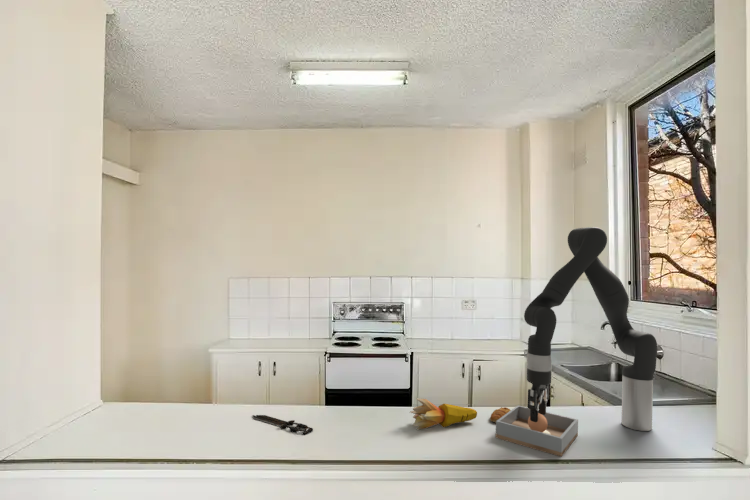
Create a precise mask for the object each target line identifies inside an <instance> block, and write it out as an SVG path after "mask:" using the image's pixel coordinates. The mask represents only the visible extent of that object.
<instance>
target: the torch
mask: <svg viewBox="0 0 750 500" xmlns="http://www.w3.org/2000/svg"><path fill="white" fill-rule="evenodd" d="M415 400H417V401H418V402H419V403H420V404H422V405H419V406H415V407H414V406H413V408H412V410H411V411H409V414H413V416H412V418H413V419H415V420H414V422H413V425H412V427H416V429H415V430H416V431H417V430H423V429H428V428H431V427H434V426H436V425H440V426H441V427H442V428H447V427H449V426H451V425H454V424H459V423H465V422H468V421H472V420H475V419H476V418H477V417H478V411H477V410H475V409H474V408H470V407H464V406H460V405H454V404H450V403H449V404H448V403H442V404H440V405H439V406H437V405H435V404H434V403H433V402H431V401H429V400H428V399H426V398H418V397H417V398H415Z"/></svg>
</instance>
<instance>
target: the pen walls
mask: <svg viewBox="0 0 750 500" xmlns="http://www.w3.org/2000/svg"><path fill="white" fill-rule="evenodd" d="M510 410H511V411H509V412H508V413H507V414H505V415H504V416H502V417H501V418H500V419H498V420H497V421H496V422H495V435H496V434H498V435H502V436H505V437H509V438H512V439H516V440H519V441H523V442H526V443H530V444H533V445H537V446H540V447H544V448H547V449H551V450H554V451H558V452H561V453H562V451H563V450H564V449H565V447H566V446H567V445H568V444H569V442H570V441H571V440H572V439H573V437H574V436H575V435H576V434H577V432H578V433H579V419H577V418H572V417H569V416H564V415H560V414H557V413H551V412H548V411H546V414H545V415H543V414H542V415H543V416H544V417H545V418H546V420H547V423H548V425H550V426H553V427H557V428H561V429H565V430H566V431H565V432H564V433H563V434H562V435H561V436H560V437H557V436H554V435H550V434H546V433H542V432H538V431H535V430H531V429H527V428H523V427H520V426H516V425H512V423H513V422H514V421H516V420H517V419H518V418H522V419H526V420H528V418H529V416H530V409H529V408H528V407H526V406H522V405H519V404H518V405H515V406H514V407H513V408H512V409H510ZM538 413H539V409H538Z"/></svg>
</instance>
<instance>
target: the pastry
mask: <svg viewBox="0 0 750 500" xmlns="http://www.w3.org/2000/svg"><path fill="white" fill-rule="evenodd" d="M511 410H512V409H510V408H509V407H505V406H504V407H502V406H501V407H499V408H498V409H495V410H493V412H492V413H491V414H490V416H489V417H490V418H489V419H490V420H489V421H490V422H493V423H496V421H497V420H498V419H500V418H501V417H502V416H504V415H505V414H507V413H508V412H509V411H511Z"/></svg>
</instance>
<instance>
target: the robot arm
mask: <svg viewBox="0 0 750 500" xmlns="http://www.w3.org/2000/svg"><path fill="white" fill-rule="evenodd" d="M607 242H608V236H607V234H606V231H604V229H602V228H600V227H596V226H592V227H591V226H590V227H589V226H588V227H578V228H574V229H571V231H569V232H568V236H567V245H568V248H569V249H570V251H571V253H572V255H573V257H572V258H571V259H570V260H569V261H568V262H566V264H564V265H562V267H561V268H560V269H558V271H556V272H555V273H554V274H553V275H552V277H550V279H549V280H548V282H547V284H546V286H544V289H543V290H542V292H541V293H539V294H538V295H537V296H536V298H534V299H532V301H531V302H530V303H529V304H528V305H527V307H526V308H525V311H524V313H523V318H524V321H525V324H527V325H529V326H532V327H534V328H536V330H535V334H530V335H529V337H528V340H527V355H526V357H527V358H526V381H527V382H528V383H529V384H531V385H532V386H531V387H530V388H528V390H527V408H529V409H530V420H531V421H533V422H537V421H538V410H539V413H540V414H543V415H545V414H546V412H547V403H548V400H549V399H550V398H549V396H550V393H549V392H550V391H549V389H550V387H549V386H550V384H551V383H552V340H553V336H554V333H555V329H556V327H557V326H556V325H557V316H556V313H555V311H554V310H553V309H552V308H554V307H559V306H561V305H562V304H563V303H564V301H565V299H566V298H567V297H568V295H569V293H570V291H571V290H572V289H573V287H574V285H575V284H576V282H577V281H578V280H579V278H580V277H581V276H582V275H583V274H585V276H586V278H587V280H588V282H589V284H590V286H591V288H592V290H593V293H594V294H595V296H596V299H597V301H598V303H599V305H600V306H601V309H603V312H604V314H605V317H606V319H607V321H608V323H609V326H610V328H611V331H612V334H613V337H614V339H615V342H616V344H617V346H618V348H619V350H620V351H621V353H623V354H625V355H626V356H629V357H633V363H632V364H631V365H625V366H623V367H622V376H621V377H622V378H621V379H622V381H621V385H622V388H621V425H622V426H624V427H626V428H628V429H630V430H635V431H642V432H648V431H652V430H653V403H654V402H653V401H654V399H653V398H654V393H653V392H654V385H653V384H654V374H655V372H656V369H657V357H658V343H657V342H658V341H657V339H656V337H655V336H654V335H653V334H652V333H649V332H644V331H640V330H635V329H634V328H633V326H632V325H631V322H630V320H629V318H628V310H629V304H630V299H629V295H628V292H627V290H626V289H625V286H624V284H623V283H622V281H621V279H620V278H619V277H618V276H617V275H616V274H615V273H614V272H613V271H612V270H611V269H610V268H608V267H607V266H606V265H605V264H604V263H603V262H602V261H601V259H600V258H599V256H600V255H601V254H602V252H603V251H604V250H605V248H606V246H607V244H608V243H607Z"/></svg>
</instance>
